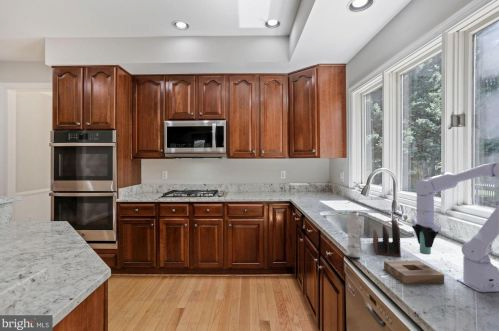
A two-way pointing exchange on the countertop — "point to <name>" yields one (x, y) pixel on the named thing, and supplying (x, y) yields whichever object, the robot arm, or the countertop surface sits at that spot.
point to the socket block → (413, 272)
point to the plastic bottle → (354, 236)
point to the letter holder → (385, 245)
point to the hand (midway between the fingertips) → (425, 245)
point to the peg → (422, 245)
